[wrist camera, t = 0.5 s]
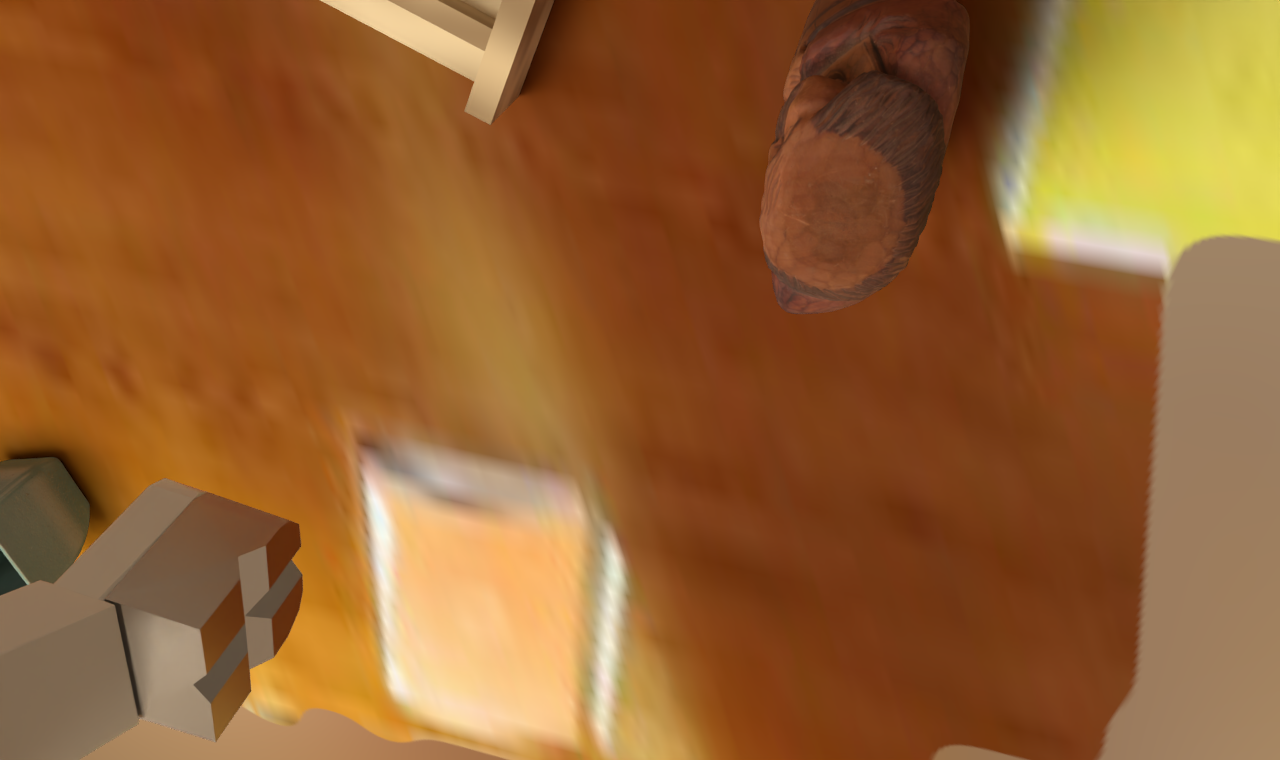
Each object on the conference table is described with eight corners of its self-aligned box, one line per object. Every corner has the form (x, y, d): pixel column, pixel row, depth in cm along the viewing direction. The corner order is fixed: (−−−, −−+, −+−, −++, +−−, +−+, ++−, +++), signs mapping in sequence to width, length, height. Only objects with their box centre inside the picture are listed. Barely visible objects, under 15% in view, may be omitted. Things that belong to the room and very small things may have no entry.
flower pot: (125, 524, 83) (45, 607, 76) (41, 526, 86) (-43, 607, 79) (66, 434, 78) (-24, 514, 71) (-20, 440, 81) (-114, 517, 74)
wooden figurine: (833, -90, 45) (771, 33, 31) (981, -60, 45) (987, 80, 30) (776, 161, 52) (704, 355, 38) (903, 190, 52) (878, 399, 37)
